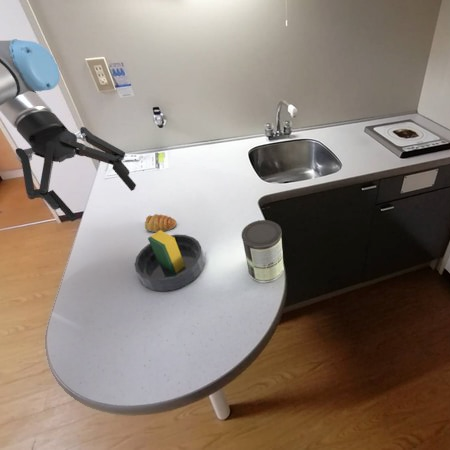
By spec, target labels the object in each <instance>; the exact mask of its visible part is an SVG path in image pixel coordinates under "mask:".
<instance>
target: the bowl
mask: <svg viewBox="0 0 450 450" xmlns="http://www.w3.org/2000/svg"><path fill="white" fill-rule="evenodd" d="M169 235H170V236H172V237H174V238H175V240H176V243H177V246H178V248H179V251H180V254H181V256H182V259H183V262H184V264H185V266H184V267H183V268H182V269H180V270H179V271H178V272H177V273H175V274H172V273H171V272H169V271H167V270H166V269H164V268H163V267H161V266H160V264H159V262H158V260H157V258H156V255H155V253H154V251H153V249H152V246H151V244H150V243H148V244H147V245H145V246H144V247H143V248H142V249H141V250H140V252H139V253H138V254H137V256H136V257H135V261H134V269H135V272H136V274H137V276H138V277H139V280H140V282H141V283H142V284H143V285H144V287H146V288H148V289H150V290H152V291H158V292H166V291H167V292H168V291H172V290H177V289H179V288H182V287H185V286H187V285H188V284H190V283H191V282H192V281H194V280H195V279H197V277H198V276H199V275H200V274H201V272H202V271H203V268H204V266H205V255H204V251H203V248H202V246H201V244H200V242H199V240H197V239H196V238H194V236H190V235H187V234H169Z"/></svg>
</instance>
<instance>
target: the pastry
mask: <svg viewBox="0 0 450 450" xmlns="http://www.w3.org/2000/svg"><path fill="white" fill-rule="evenodd" d="M176 225H177V221H176V219H175V218H173V217H171V216H168V215H164V214H158V213H156V214H153V215H151V214H150V215H148V216H147V217H146V218H145V220H144V228H145V230H146V231H149V232H154V233H156V232H158V231H159V230H161V231H163V232H166V231H170V230H172V229H174V228H175V227H176Z"/></svg>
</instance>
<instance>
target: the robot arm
mask: <svg viewBox="0 0 450 450" xmlns="http://www.w3.org/2000/svg"><path fill="white" fill-rule="evenodd" d="M59 82H60V69H59V66H58V64H57V62H56V60H55V58H54V56H53V55H52V54H51V52H50V51H49V50H48V49H47V48H46V47H45V46H43V45H42V44H40V43H38V42H36V41H33V40H20V39H17V38H13V39H11V40H0V113H1V114H2V115H3V116H4V117H5V119H6V120H7V121H8V122H9V123H10V124H11V125H12V127H14V128H15V129H16V131H17V133H19V135H20V136H21V137H22V138H23V139H24V140H25V142H26V143H27V144H28V145H29V146H30V147H28V148H25V149H23V148H19V147H18V148H16V149H15V150H14V151H15V156H16V158H17V160H18V161H19V163H20V164H21V167H22V168H21V169H22V175H23V179H24V186H25V187H24V188H25V192H26V193H25V194H26V196H27V198H28V199H29V200H35V199H38V198H40V199H42V200H43V201H45V202H46V203H47V204H48V206H49V207H50V208H51V209H52V210H54V211H56V210H59V209H60V210H61V212H62V213H63V214H64V215H65V216H66V217H67V218H68V219H69V221H71V222H74V221H76V219H77V215H76V214H75V213H74V212H73V210H71V208H70V207H69V206H68V205H67V204H66V202H64V201H63V199H62V198H61V197H60V196H59V195H58V194H57V193H56V191H55V190H54V189H50V184H51V177H52V172H53V168H54V167H53V166H54V163H62V162H64V161H66V160H68V159H73V158H75V156H80V157H86V158H89V159H92V160H96V161H99V162H102V163H105V164H108V165H112V168H111V169H112V170H113V171H114V172H115V174H116V175H117V176H118V177H119V178H120V180H121V181H122V182H123V183H124V184H125V185H126V187H127V188H128V189H129V190H130V191H131V192H132V191H134V190H135V189H136V186H137V184H136V183H135V182H134V180H133V179H132V178H131V177H130V176H129V175H130V173H131V172H130V170H129V168H127V166H126V165H125V164H124V163H123V161H124V159H125V157H126V152H125V151H124V150H121V149H120V148H118V147H116V146H115V145H114V144H111V143H109V142H108V141H105V140H104V139H102V138H100V137H98V136H96V135H95V134H93V133H92V132H91V131H90V130H89V129H88V128H87V127H85V126H81V127H80V130H78V131H75V132H71V131H70V130H69V129H68V128H67V127H66V125H65V124H64V123H63V122H62V121H61V119H60V118H59V117H58V116H57V115H56V114H55V113H54V112H53V111H52V110H53V109H51V107H49V105H48V104H47V103H46V102H45V101H44V100H43V99H42V97H41V96H40V95H39V94H38V93H37V92H43V91H50V90H53V89H55V88H56V87H57V86H58V84H59ZM78 140H81V141H82V142H86V143H88V144H89V145H90V146H93V147H95V148H93V147H90V146H87V145H86V144H85V143H82V142H78ZM96 148H97V149H96ZM33 155H35V156H37V157H40V158H43V166H42V171H41V172H42V173H41V176H40V183H39V188H36V189H35V185H34V178H33V173H32V167H31V161H32V160H33ZM49 189H50V190H49Z"/></svg>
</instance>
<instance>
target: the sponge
mask: <svg viewBox="0 0 450 450" xmlns="http://www.w3.org/2000/svg"><path fill="white" fill-rule="evenodd" d="M170 235H171V234H168V233H167V232H166V231H161V230H159V231H158V232H154V234H151V235H150V236H149V237H147V240H148V242H149V244H151V246H152V249H153V251H154V253H155V255H156V258H157V260H158V262H159V264H160V266H161V267H163V268H164V269H166V270H167V271H169V272H171V273H172V274H175V273H177V272H178V271H179V270H180V269H182V268H183V267H184V266H185V264H184V262H183V259H182V256H181V254H180V251H179V248H178V246H177V243H176V240H175V238H174V237H172V236H170Z"/></svg>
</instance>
